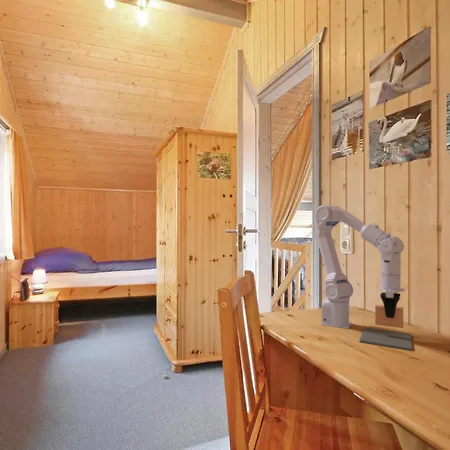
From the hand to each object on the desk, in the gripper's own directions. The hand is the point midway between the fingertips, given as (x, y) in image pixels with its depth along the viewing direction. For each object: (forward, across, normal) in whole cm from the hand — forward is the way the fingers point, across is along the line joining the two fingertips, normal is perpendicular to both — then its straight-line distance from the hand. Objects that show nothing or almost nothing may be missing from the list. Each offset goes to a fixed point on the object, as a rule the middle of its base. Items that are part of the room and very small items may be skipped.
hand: (390, 316), depth 106 cm
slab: (+3, 0, 0) cm, 3 cm away
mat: (+7, -2, +1) cm, 7 cm away
